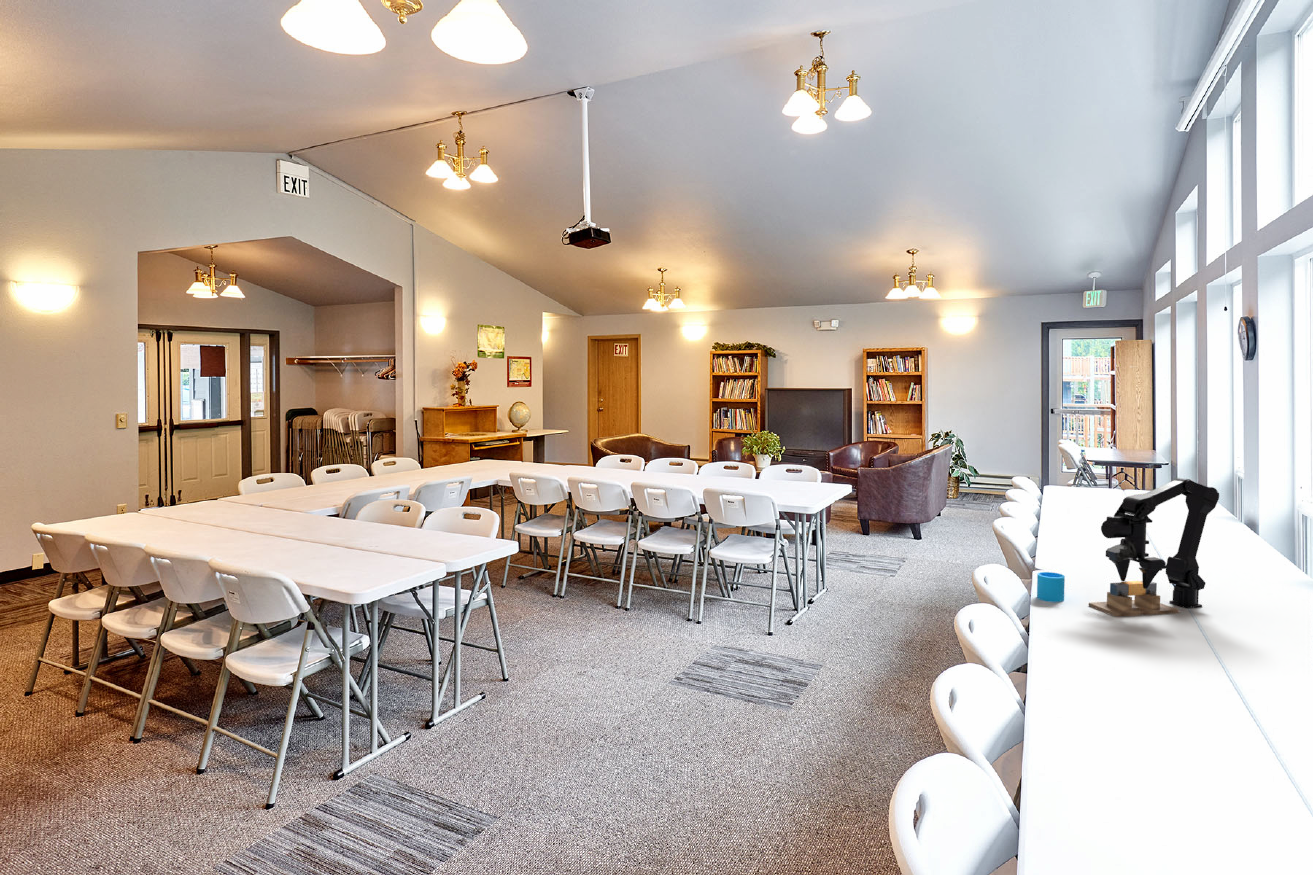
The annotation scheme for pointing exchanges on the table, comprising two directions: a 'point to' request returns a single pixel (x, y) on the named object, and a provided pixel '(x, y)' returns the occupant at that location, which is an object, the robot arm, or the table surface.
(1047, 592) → the mug
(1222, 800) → the table surface
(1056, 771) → the table surface
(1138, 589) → the spanner bar
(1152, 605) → the tool rack
